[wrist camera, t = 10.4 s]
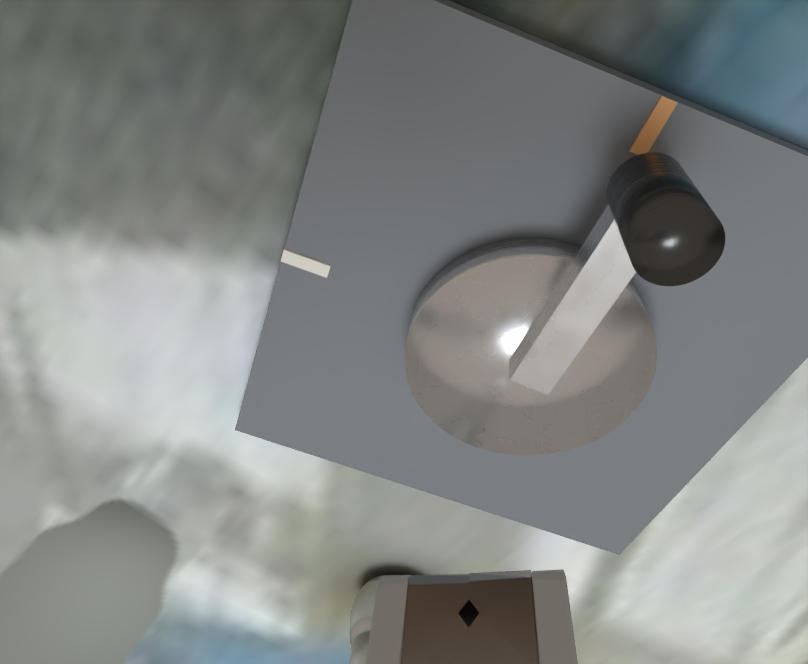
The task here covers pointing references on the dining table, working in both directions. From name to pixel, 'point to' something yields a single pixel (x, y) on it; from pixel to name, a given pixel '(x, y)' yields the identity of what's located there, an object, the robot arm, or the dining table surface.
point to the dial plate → (504, 220)
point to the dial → (559, 319)
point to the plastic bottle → (362, 621)
